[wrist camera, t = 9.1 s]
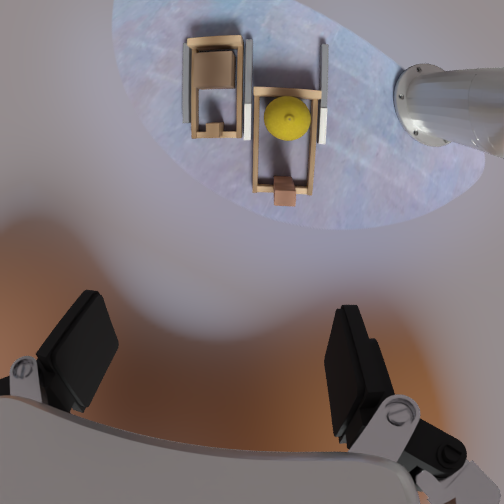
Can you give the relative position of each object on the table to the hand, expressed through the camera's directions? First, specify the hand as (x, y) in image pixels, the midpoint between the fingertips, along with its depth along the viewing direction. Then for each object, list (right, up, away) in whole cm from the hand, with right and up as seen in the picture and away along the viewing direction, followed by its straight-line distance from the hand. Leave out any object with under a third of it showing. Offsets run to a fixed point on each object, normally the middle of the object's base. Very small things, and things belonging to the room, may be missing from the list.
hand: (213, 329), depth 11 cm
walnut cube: (-3, +26, +22) cm, 34 cm away
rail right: (-7, +26, +22) cm, 35 cm away
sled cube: (-3, +24, +23) cm, 34 cm away
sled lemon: (+6, +18, +26) cm, 32 cm away
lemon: (+6, +21, +24) cm, 33 cm away
